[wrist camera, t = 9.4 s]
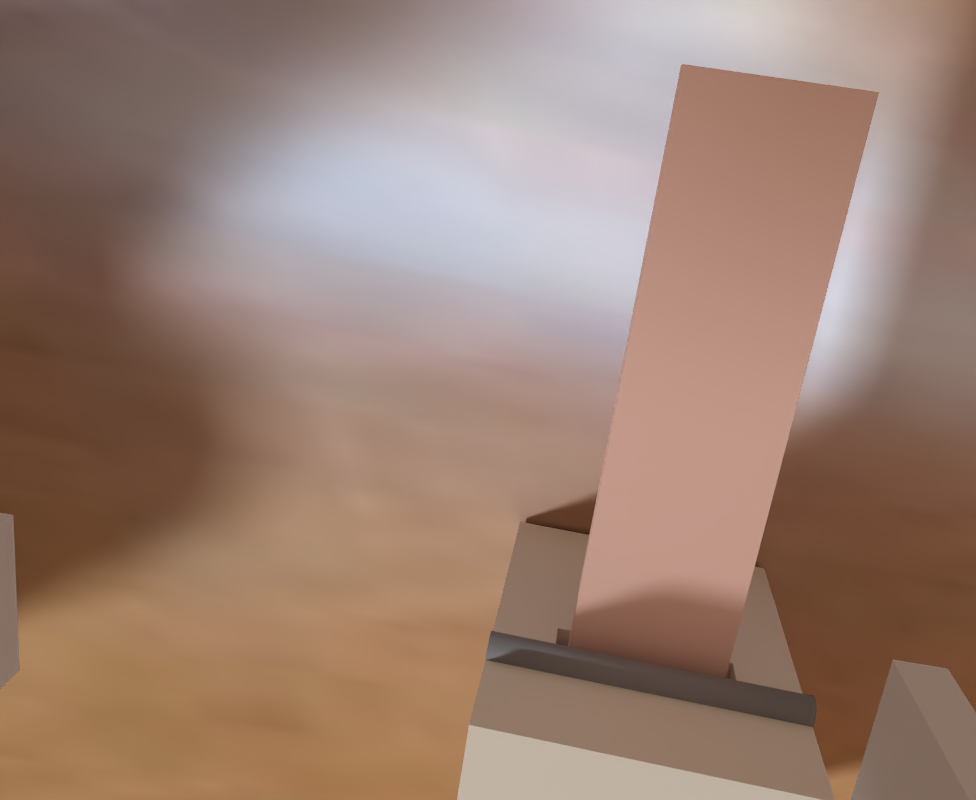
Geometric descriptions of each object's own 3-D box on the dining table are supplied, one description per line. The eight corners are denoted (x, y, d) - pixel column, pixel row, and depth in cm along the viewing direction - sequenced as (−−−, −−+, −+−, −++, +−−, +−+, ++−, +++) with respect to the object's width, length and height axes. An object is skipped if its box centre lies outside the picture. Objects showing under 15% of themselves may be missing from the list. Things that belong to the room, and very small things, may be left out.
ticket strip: (558, 690, 37) (557, 705, 36) (681, 65, 30) (682, 64, 29) (707, 721, 37) (709, 737, 36) (870, 92, 29) (878, 92, 28)
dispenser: (481, 752, 50) (420, 1029, 35) (522, 507, 45) (472, 704, 30) (702, 800, 49) (737, 1106, 34) (768, 553, 44) (842, 782, 29)
